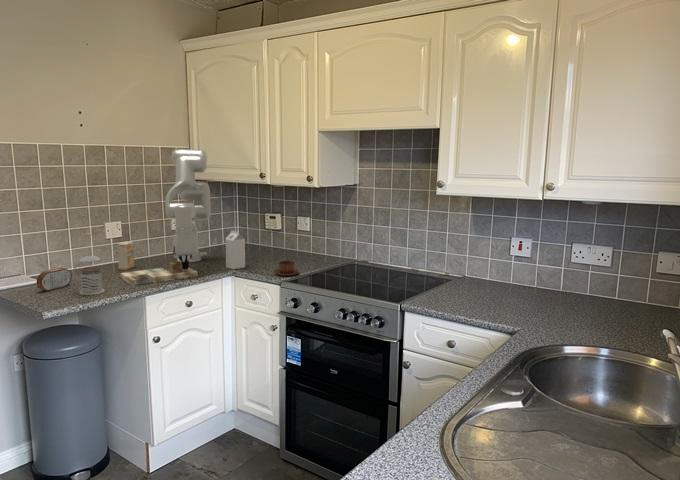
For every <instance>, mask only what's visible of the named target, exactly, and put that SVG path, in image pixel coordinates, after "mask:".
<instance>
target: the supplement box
mask: <svg viewBox="0 0 680 480" xmlns="http://www.w3.org/2000/svg"><path fill="white" fill-rule="evenodd" d="M134 246H135V245H134V241H123V242H121V243H117V257H118V259H117V260H118V270H119V271H129V270H130V269H132V268H134V267H135V250H134Z"/></svg>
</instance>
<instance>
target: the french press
mask: <svg viewBox="0 0 680 480" xmlns="http://www.w3.org/2000/svg"><path fill="white" fill-rule="evenodd" d="M85 236H86V237H87V238H88V241H87V242H88V243H90V239H89V237H90V236H92V234H91V233H90V232H86V233H85ZM101 260H102V259H101V258H100V257H99V256H97V255H92V254H91V250H90V248H88V255H86V256H83V257H81V258H80V259H78V261H79V262H78V263H77V264H75V265H74V266H73V268H72V274H73V276H74V278H75V279H76V280H78V281H79V282H80V291H79V292H78V294H79V295H83V296H92V295H99V294H102V293H104V292H105V291H106V290H105V289H104V288H103V283H102V282H103V281H102V271H101V270H100V269H101V268H100V267H97V266H96V267H95V266H93V267H92V265H91V263H96V262H100V261H101ZM83 263H85V264H86V263H89V267H84V268H81V267H82V265H83ZM78 265H79V267H80V268H81V269H80V271H81V273H80V274H79V275H80V277H79V276H78V275H77V272H76V269H77V266H78Z"/></svg>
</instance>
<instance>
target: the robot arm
mask: <svg viewBox="0 0 680 480" xmlns="http://www.w3.org/2000/svg"><path fill="white" fill-rule="evenodd" d="M207 158H208V157H207V153H206V151H205V150H203V149H184V148H183V149H182V148H181V149H175V150H173V151H172V153H171V161H172V163H173V164H174V165H173V166H175V184H174V185H173V186H172V187H170V188H169V190H168V192H167V194H166V196H165V209H164V210H165V216H166V217H167V218H168V219H173V220H174V223H175V233H173V236H172V237H173V238H172V254H173V258H174V259H177V261H176V262H181V263H182V269H184V270H186V269H188V268H190V263H197V262H200V261H202V257H206V256H208V253H207V251H204V252H202V251H199V234H198V227H197V225H196V224H195V223H194V222H193V221H208V220H209V219H210V218H211V212H212V209H211V191H210V189H211V188H210V185H209V183H206V182H202V181H201V182H196V173H205V172H206V170H207V163H208V162H207V161H208V159H207ZM177 195H179V197H180V199H181V200H183V201H201V202H173V199H174V198H175V197H176V196H177Z"/></svg>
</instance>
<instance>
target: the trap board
mask: <svg viewBox="0 0 680 480" xmlns="http://www.w3.org/2000/svg"><path fill="white" fill-rule="evenodd" d="M119 274H120V279H121V280H122V281H124V282H126V283H127V284H128V285H130V286H131V287H137V286H143V285H149V284H155V283H162V282H163V281H164V282H169V280H171V281H175V279H177V280H183V279H182V278H184V279H189V278H188V277H191V278H198V270H195V269H193V268H191V267H188V269H186V270H184V269H182V273H175V274H173V273H170V272H169V270H167V269H164V268H162V267H159V268H151V269H150V268H149V269H142V270H136V271H130V272H121V273H119Z"/></svg>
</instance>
